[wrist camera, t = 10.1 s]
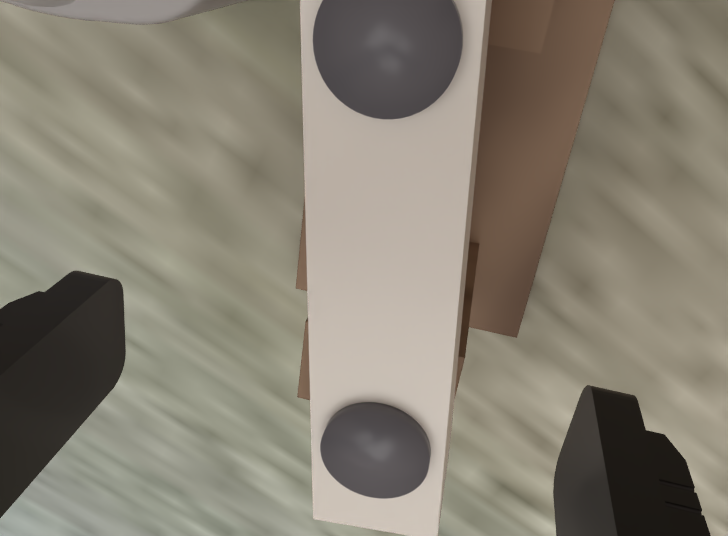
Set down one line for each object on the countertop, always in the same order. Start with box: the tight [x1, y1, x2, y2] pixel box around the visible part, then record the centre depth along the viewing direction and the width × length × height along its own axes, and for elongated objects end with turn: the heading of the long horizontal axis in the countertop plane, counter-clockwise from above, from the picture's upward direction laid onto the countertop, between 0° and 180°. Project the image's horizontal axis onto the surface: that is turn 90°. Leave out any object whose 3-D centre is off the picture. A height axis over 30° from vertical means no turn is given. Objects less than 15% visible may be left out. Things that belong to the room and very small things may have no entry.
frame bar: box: [300, 0, 492, 536], centre depth 17 cm, size 16×4×4 cm, turn 179°
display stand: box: [296, 0, 615, 400], centre depth 23 cm, size 10×17×10 cm, turn 172°
